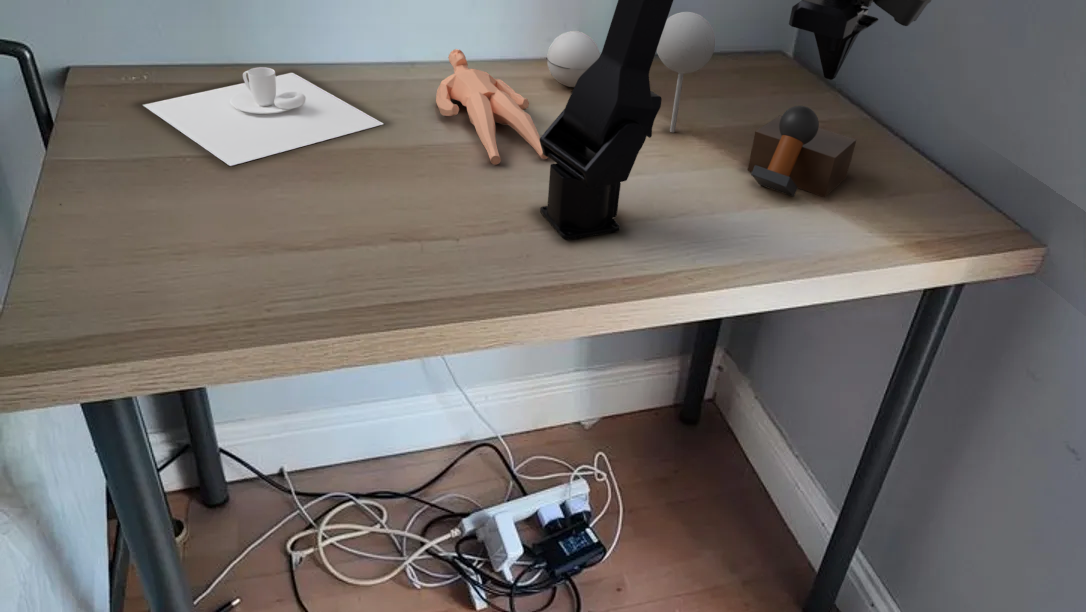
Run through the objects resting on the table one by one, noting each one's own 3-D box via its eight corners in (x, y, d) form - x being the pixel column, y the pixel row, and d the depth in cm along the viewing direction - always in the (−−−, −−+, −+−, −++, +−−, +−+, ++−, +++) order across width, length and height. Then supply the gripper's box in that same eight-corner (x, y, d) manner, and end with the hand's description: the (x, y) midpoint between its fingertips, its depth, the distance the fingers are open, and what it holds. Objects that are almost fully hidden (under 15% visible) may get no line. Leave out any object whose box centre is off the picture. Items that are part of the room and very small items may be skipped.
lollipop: (700, 124, 124) (719, 8, 115) (699, 146, 118) (720, 25, 109) (646, 117, 124) (661, 0, 115) (643, 139, 118) (658, 18, 109)
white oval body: (535, 78, 131) (538, 25, 127) (581, 73, 135) (586, 21, 130) (569, 105, 125) (574, 50, 120) (617, 99, 128) (623, 46, 124)
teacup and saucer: (316, 110, 116) (313, 77, 113) (257, 124, 111) (253, 91, 108) (277, 87, 120) (274, 55, 118) (218, 100, 115) (213, 67, 113)
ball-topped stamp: (781, 207, 106) (800, 127, 101) (746, 194, 108) (763, 115, 103) (809, 183, 112) (828, 107, 107) (775, 172, 114) (793, 96, 109)
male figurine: (477, 140, 105) (414, 45, 121) (475, 179, 108) (414, 81, 125) (566, 132, 109) (493, 41, 126) (562, 169, 112) (491, 76, 129)
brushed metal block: (824, 197, 110) (835, 157, 107) (747, 170, 114) (755, 131, 111) (846, 177, 115) (856, 139, 112) (771, 152, 118) (779, 114, 116)
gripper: (909, -32, 91) (867, 121, 100) (961, -60, 105) (920, 77, 114) (803, -57, 96) (772, 91, 105) (866, -81, 109) (834, 53, 118)
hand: (829, 78), depth 110 cm, fingers closed
